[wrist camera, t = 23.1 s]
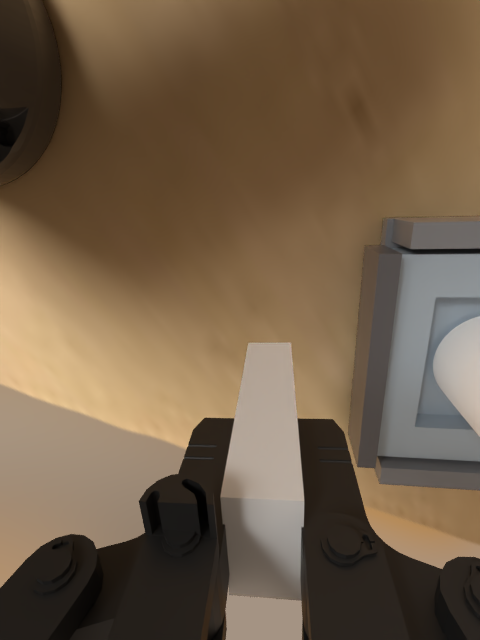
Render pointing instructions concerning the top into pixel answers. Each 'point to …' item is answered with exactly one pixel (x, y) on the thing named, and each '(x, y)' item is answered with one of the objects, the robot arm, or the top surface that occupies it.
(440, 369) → the can
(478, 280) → the tray
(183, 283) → the top surface
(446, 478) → the tray
